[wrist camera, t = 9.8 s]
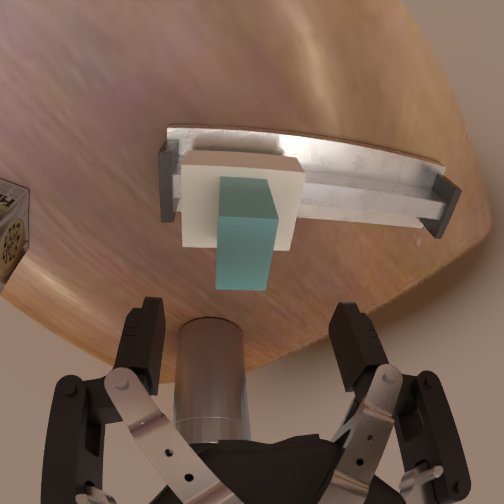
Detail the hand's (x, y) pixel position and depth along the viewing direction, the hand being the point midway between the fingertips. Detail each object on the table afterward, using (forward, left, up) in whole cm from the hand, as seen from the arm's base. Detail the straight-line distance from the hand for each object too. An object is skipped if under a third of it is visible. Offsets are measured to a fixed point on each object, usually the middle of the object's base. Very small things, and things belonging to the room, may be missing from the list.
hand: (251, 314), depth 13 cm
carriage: (0, 0, -15) cm, 15 cm away
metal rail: (-4, -7, -17) cm, 19 cm away
